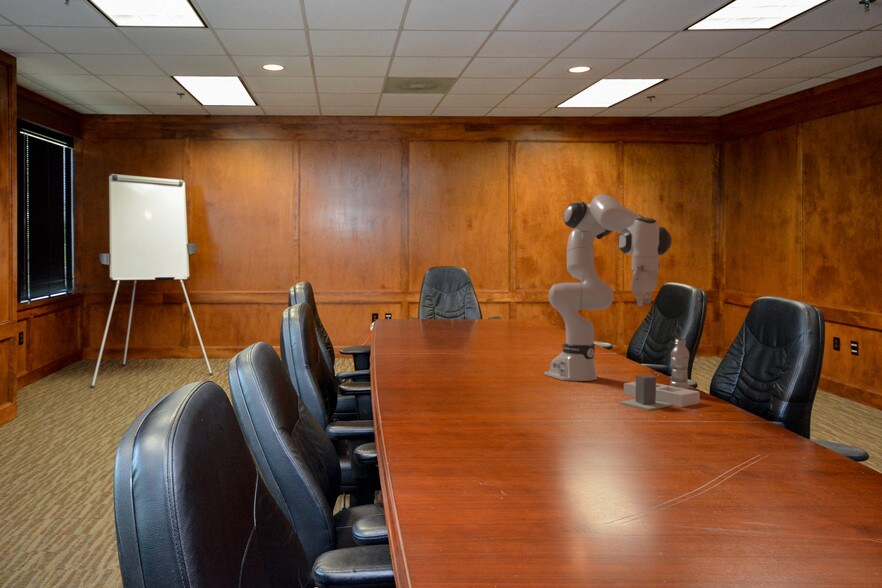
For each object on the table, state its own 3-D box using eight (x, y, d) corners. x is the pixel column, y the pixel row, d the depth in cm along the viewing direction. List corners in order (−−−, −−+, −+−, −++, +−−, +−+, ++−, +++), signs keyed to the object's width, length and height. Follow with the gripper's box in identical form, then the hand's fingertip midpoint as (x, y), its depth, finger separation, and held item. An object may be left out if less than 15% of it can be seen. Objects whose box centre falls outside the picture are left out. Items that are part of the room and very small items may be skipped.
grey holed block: (623, 394, 239) (623, 382, 238) (641, 391, 244) (641, 379, 244) (681, 407, 219) (681, 394, 219) (699, 403, 225) (699, 390, 224)
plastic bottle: (685, 392, 242) (687, 338, 241) (690, 396, 236) (692, 340, 235) (667, 392, 243) (668, 338, 242) (672, 396, 236) (673, 340, 235)
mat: (619, 403, 224) (619, 401, 224) (642, 399, 231) (642, 397, 231) (648, 410, 214) (648, 408, 214) (671, 405, 221) (671, 404, 221)
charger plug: (635, 401, 224) (635, 375, 224) (647, 400, 225) (647, 374, 225) (643, 404, 219) (644, 377, 219) (655, 404, 221) (656, 377, 220)
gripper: (646, 266, 218) (645, 308, 220) (661, 263, 236) (659, 302, 237) (627, 266, 222) (626, 307, 223) (643, 263, 239) (642, 301, 240)
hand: (643, 304), depth 230 cm, fingers open, 8 cm apart
